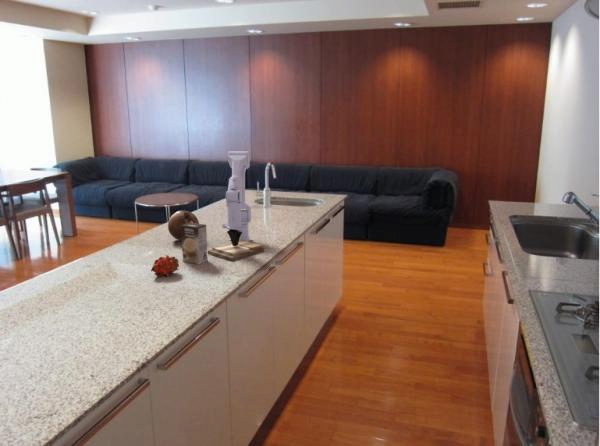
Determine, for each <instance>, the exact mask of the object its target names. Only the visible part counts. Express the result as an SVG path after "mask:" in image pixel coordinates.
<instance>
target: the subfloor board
mask: <svg viewBox="0 0 600 446" xmlns="http://www.w3.org/2000/svg"><path fill="white" fill-rule="evenodd" d="M230 243H232V242H231V241H230ZM238 245H239V246H243V247H247V248H250V251H248V252H245V253H242V254H239V255H236V256H231V255H227V254H224V253H221V252H217V251H214V250H213V248H211V249H209V250H207V255H210V256H213V257H217V258H219V259H224V260H227V261H231V262H232V261H235V260H239V259H242V258H246V257H248V256H253V255H256V254H258V253H262V252H265V247H263V246H262V244H259V243H255V242H252V241H244V240H239V242H238Z"/></svg>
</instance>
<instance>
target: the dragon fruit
mask: <svg viewBox="0 0 600 446" xmlns="http://www.w3.org/2000/svg"><path fill="white" fill-rule="evenodd" d="M179 263H180V262H179V259H177V258H176V256H169V255H167V254H166V255H165V256H159V258H158V259H155V261H154V263H153V265H152V267H151V270H150V272H154V275H155V277H157V276H158V277H163V276H167V277H169V276H171V275H173V274H174V272H177V271H178V270H179V267H180V265H179Z"/></svg>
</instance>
